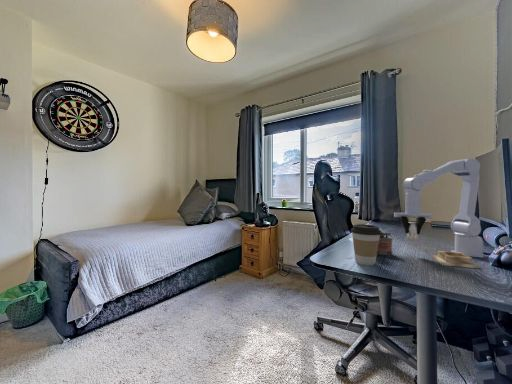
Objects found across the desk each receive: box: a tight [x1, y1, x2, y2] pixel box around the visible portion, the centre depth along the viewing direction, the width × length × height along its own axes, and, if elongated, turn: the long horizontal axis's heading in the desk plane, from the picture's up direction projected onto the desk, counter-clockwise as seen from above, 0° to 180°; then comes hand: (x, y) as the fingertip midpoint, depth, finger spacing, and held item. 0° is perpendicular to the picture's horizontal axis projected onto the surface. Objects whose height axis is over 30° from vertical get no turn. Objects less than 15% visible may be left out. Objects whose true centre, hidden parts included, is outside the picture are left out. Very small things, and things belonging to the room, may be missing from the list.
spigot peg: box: [406, 221, 418, 242], centre depth 108 cm, size 4×4×8 cm
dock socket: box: [431, 250, 481, 269], centre depth 99 cm, size 12×12×3 cm
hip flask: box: [377, 231, 393, 256], centre depth 111 cm, size 8×3×10 cm, turn 69°
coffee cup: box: [350, 223, 382, 267], centre depth 97 cm, size 11×11×15 cm
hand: (412, 233), depth 108 cm, fingers closed on spigot peg, 4 cm apart
